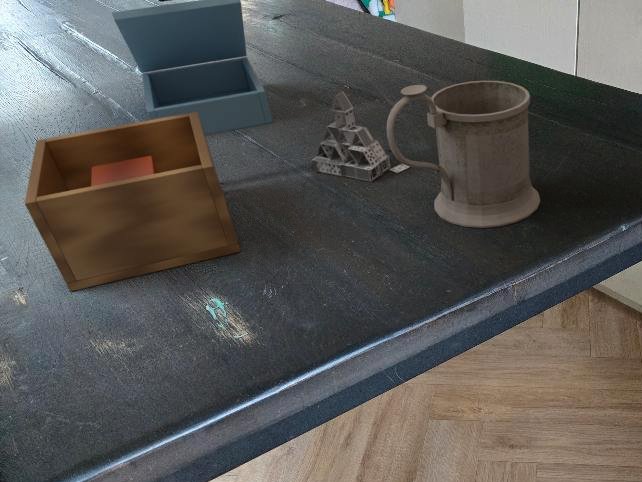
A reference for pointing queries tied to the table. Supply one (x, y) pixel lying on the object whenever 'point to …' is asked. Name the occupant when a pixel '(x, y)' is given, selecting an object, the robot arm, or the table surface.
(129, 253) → the open wooden crate
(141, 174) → the block
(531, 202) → the mug
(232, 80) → the box
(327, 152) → the house of cards
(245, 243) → the table surface
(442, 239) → the table surface
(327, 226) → the table surface
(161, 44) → the lid
